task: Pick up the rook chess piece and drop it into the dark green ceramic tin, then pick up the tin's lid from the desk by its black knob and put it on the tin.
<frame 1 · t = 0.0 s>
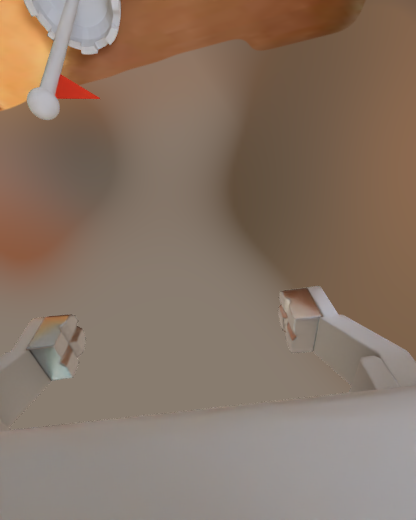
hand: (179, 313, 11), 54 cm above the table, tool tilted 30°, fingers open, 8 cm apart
when the fingers open (7 cm above the table, at t = 11.9 s): rook chess piece stays where it is, resting on tin.
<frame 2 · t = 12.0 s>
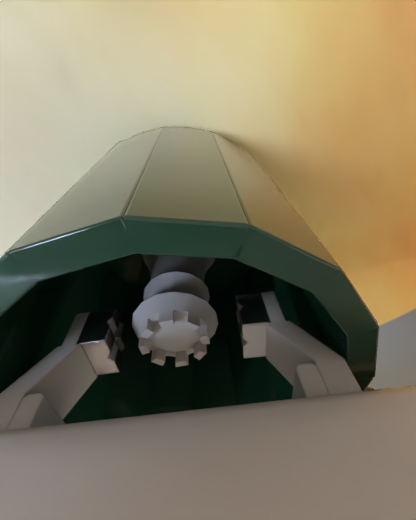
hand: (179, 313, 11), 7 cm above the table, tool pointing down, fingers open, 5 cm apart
rook chess piece: (180, 233, 17), resting on tin
tin: (181, 231, 17), on the table
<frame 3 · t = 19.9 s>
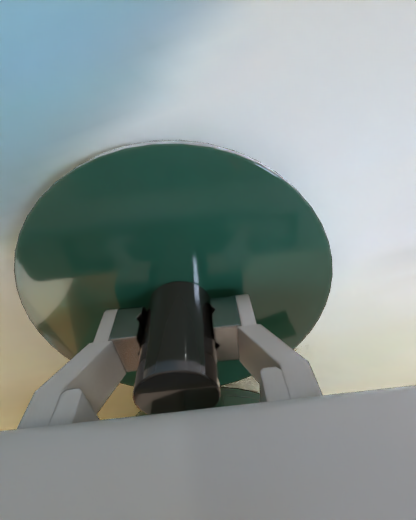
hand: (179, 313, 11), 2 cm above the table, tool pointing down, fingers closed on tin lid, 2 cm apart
tin: (209, 432, 20), on the table
tin lid: (180, 295, 12), point 1 cm above the table, touching gripper
when the fingers open (11 cm above the table, at t = 25.6 s): tin lid stays where it is, resting on tin.
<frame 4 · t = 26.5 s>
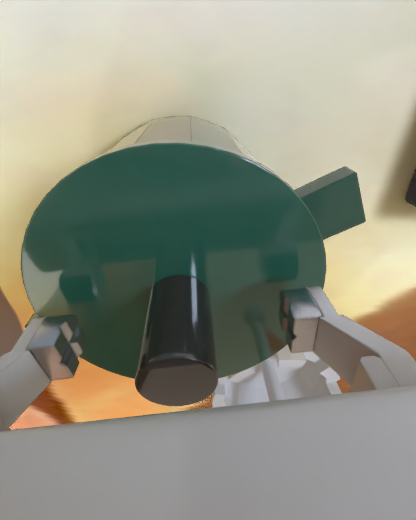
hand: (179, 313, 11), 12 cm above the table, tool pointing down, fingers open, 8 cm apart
flag stand: (264, 354, 32), on the table
tin: (183, 200, 21), on the table
tin lid: (180, 289, 12), point 10 cm above the table, touching tin
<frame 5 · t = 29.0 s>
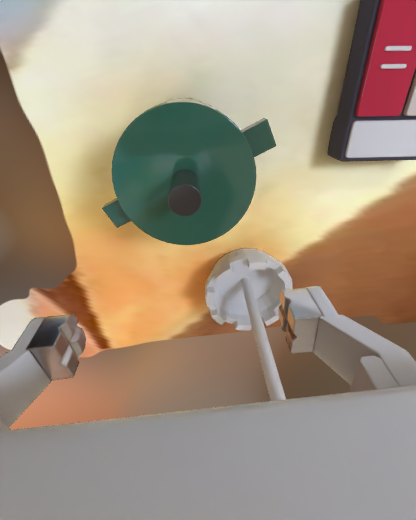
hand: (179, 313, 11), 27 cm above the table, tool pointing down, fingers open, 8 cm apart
flag stand: (244, 276, 45), on the table
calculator: (388, 83, 31), on the table
tin: (186, 153, 34), on the table
tin lid: (185, 181, 25), point 10 cm above the table, touching tin
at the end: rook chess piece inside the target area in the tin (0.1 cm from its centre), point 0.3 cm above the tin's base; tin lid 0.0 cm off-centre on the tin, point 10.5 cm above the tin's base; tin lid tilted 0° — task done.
